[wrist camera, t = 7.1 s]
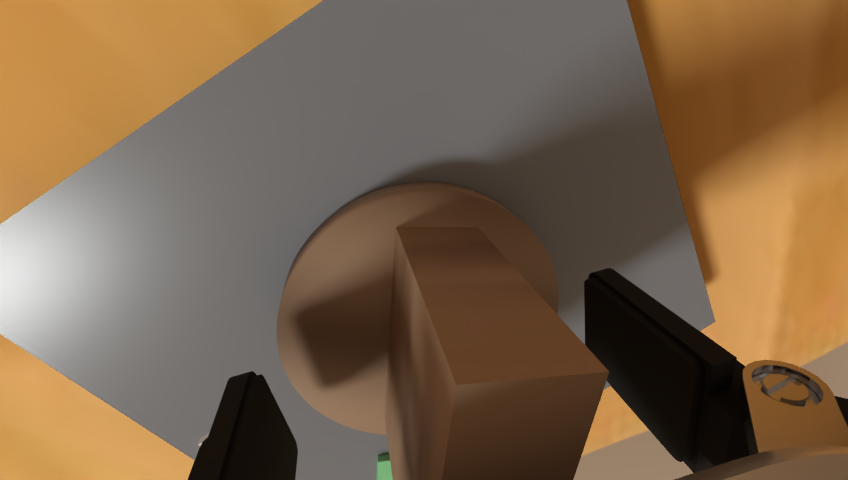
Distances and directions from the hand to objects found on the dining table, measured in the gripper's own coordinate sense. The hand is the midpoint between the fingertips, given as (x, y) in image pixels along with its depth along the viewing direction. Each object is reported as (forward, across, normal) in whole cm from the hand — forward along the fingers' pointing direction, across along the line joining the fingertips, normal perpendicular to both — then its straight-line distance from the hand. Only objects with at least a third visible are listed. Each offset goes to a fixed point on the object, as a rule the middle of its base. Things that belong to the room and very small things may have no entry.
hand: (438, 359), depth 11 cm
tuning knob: (+3, +1, +2) cm, 3 cm away
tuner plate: (+5, 0, 0) cm, 5 cm away
